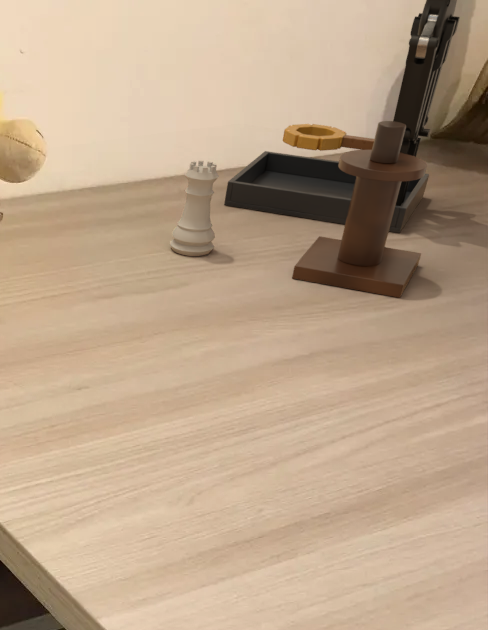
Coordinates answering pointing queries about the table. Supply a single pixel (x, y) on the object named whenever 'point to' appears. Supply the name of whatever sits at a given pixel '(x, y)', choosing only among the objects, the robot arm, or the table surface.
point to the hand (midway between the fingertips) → (389, 202)
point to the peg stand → (368, 222)
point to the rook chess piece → (196, 212)
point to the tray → (307, 189)
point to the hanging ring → (323, 138)
